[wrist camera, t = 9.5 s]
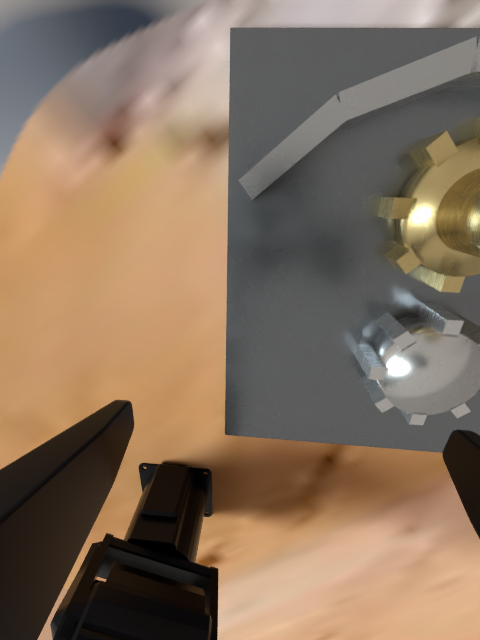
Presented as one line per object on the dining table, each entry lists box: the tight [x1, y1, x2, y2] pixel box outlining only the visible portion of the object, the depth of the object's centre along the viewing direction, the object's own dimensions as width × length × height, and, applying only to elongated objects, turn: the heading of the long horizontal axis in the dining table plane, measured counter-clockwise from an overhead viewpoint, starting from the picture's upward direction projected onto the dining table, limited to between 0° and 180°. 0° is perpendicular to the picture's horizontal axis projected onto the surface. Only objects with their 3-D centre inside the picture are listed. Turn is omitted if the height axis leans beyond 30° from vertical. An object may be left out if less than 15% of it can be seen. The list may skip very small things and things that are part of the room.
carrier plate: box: [225, 28, 480, 453], centre depth 15 cm, size 23×23×4 cm
